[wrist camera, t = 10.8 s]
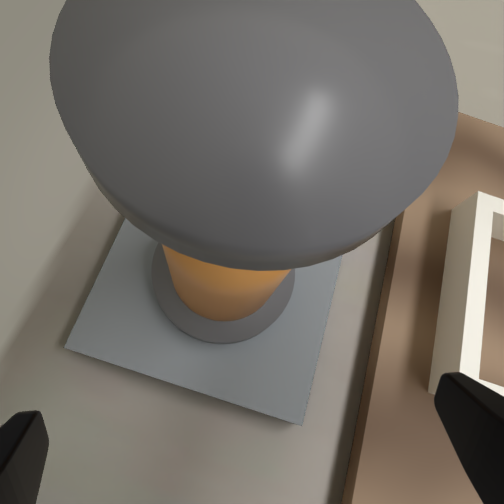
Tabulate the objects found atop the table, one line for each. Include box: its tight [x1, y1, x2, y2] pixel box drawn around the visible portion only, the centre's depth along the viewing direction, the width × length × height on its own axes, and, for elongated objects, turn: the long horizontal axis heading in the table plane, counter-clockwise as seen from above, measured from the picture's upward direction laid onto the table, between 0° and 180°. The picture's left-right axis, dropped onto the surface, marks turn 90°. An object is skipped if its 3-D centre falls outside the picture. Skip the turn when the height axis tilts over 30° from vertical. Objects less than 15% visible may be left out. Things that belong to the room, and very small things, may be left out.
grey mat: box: [64, 218, 342, 426], centre depth 17 cm, size 10×10×1 cm
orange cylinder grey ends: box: [49, 0, 458, 344], centre depth 11 cm, size 6×6×12 cm
